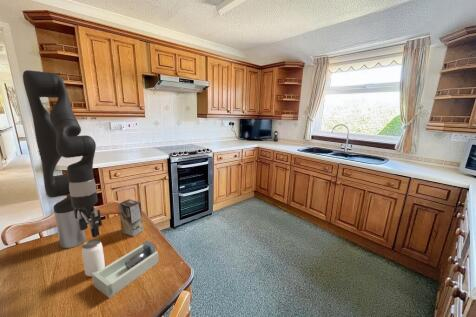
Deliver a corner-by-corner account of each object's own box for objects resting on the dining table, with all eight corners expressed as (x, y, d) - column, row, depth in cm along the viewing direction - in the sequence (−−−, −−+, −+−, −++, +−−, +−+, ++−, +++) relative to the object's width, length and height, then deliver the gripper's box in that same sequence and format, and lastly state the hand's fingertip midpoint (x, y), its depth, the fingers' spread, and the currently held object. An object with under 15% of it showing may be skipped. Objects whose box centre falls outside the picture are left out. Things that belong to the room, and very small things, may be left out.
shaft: (124, 267, 80) (123, 254, 78) (148, 252, 88) (147, 240, 87) (132, 273, 77) (131, 259, 76) (155, 256, 86) (154, 244, 85)
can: (95, 278, 75) (90, 250, 73) (80, 275, 77) (76, 247, 74) (109, 266, 82) (105, 239, 79) (95, 263, 83) (91, 237, 80)
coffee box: (143, 230, 107) (141, 202, 103) (133, 237, 101) (130, 207, 98) (131, 226, 111) (129, 198, 107) (120, 232, 105) (117, 203, 102)
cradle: (93, 285, 72) (91, 273, 71) (143, 253, 89) (142, 243, 88) (109, 298, 68) (107, 285, 67) (158, 261, 85) (158, 251, 84)
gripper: (61, 191, 72) (68, 232, 76) (81, 199, 66) (88, 244, 69) (85, 185, 79) (91, 223, 82) (105, 192, 72) (110, 233, 75)
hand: (89, 232), depth 76 cm, fingers open, 8 cm apart
